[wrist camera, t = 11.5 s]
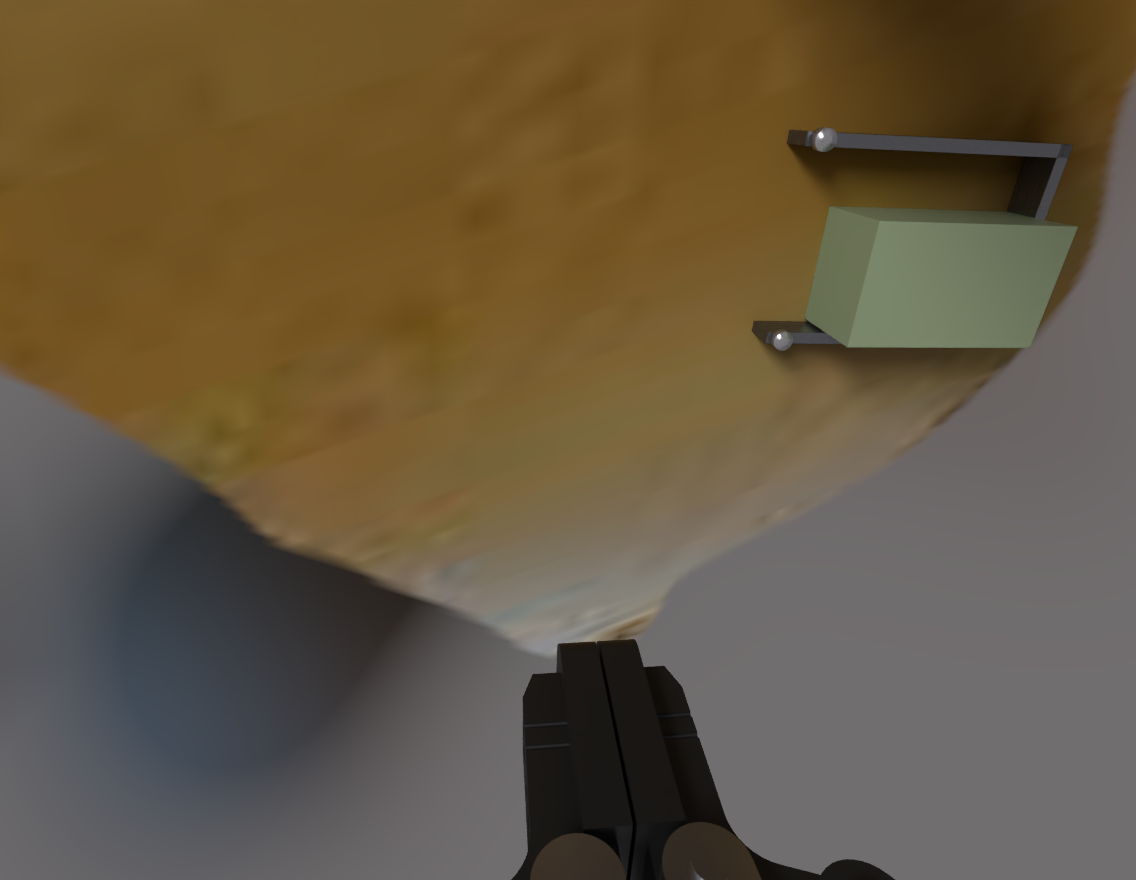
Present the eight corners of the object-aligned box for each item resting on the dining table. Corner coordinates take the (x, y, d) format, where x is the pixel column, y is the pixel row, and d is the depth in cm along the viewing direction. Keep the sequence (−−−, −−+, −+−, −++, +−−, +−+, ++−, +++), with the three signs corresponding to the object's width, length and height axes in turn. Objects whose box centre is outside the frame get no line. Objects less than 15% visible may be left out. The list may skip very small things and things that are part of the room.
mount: (790, 125, 31) (814, 127, 29) (1043, 138, 33) (1085, 140, 30) (751, 334, 36) (769, 350, 34) (972, 337, 37) (1004, 352, 35)
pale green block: (827, 205, 33) (879, 221, 29) (1002, 210, 34) (1078, 226, 30) (803, 317, 36) (847, 347, 32) (965, 319, 37) (1029, 347, 33)
